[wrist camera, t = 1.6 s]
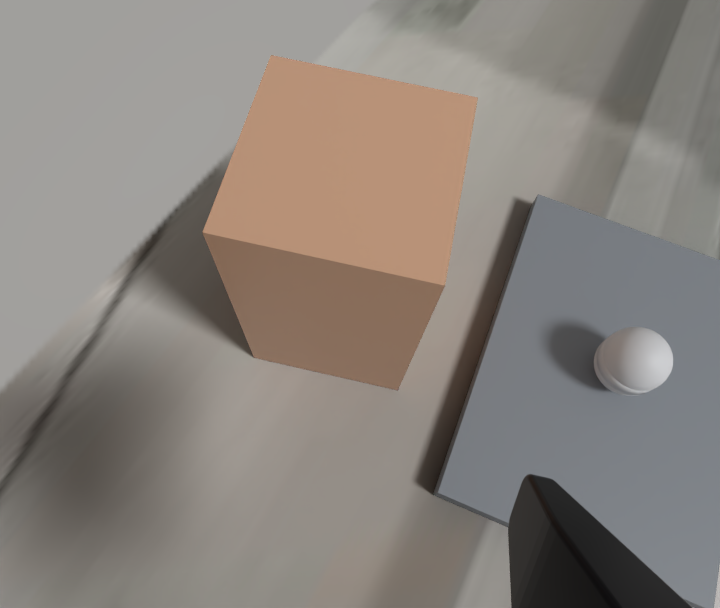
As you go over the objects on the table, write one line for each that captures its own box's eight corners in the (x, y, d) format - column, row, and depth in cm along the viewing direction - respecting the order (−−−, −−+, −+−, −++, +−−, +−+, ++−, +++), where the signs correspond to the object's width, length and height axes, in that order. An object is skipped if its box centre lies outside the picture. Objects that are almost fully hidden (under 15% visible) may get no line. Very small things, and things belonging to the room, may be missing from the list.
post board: (695, 608, 20) (778, 623, 16) (433, 494, 21) (455, 484, 17) (742, 283, 25) (812, 239, 21) (530, 206, 26) (563, 151, 23)
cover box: (397, 390, 22) (444, 285, 13) (253, 357, 23) (202, 232, 13) (422, 262, 25) (477, 98, 16) (292, 233, 25) (271, 55, 16)
